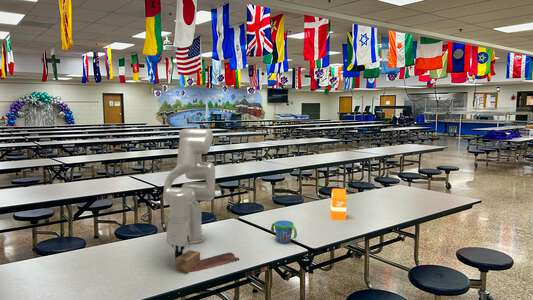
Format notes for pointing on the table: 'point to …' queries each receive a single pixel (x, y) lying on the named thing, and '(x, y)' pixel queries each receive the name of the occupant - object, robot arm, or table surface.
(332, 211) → the orange juice
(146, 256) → the table surface
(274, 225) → the snack cup
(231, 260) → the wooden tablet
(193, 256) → the walnut block
